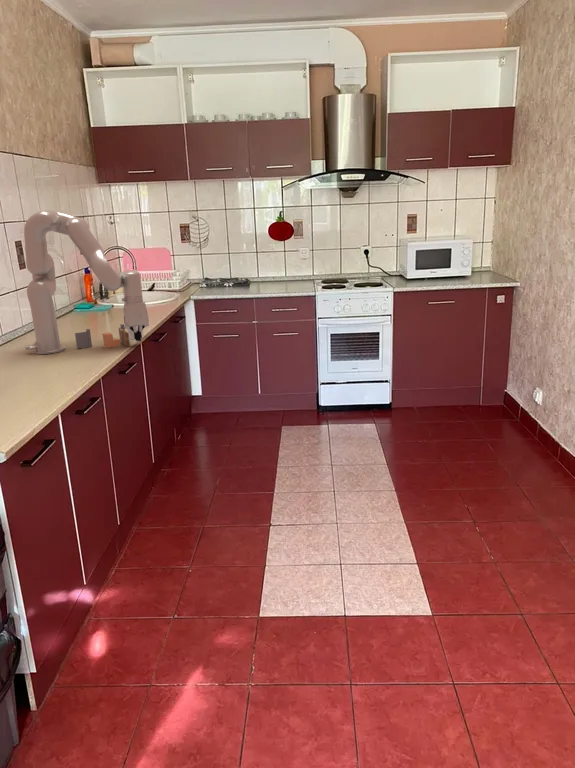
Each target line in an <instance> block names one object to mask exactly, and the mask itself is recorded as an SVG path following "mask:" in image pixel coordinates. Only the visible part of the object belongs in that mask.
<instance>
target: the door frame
mask: <svg viewBox="0 0 575 768" xmlns="http://www.w3.org/2000/svg"><path fill="white" fill-rule="evenodd" d="M120 328H121V329H123V330H124V331H126V329H125V323H121V324H120ZM74 336H75V343H76V350H77V349H78V350H80V349H79V348H81V349H86V347H88V348H93V342H92V335H91V328H86V330H85V331H80V332H75V333H74Z"/></svg>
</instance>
